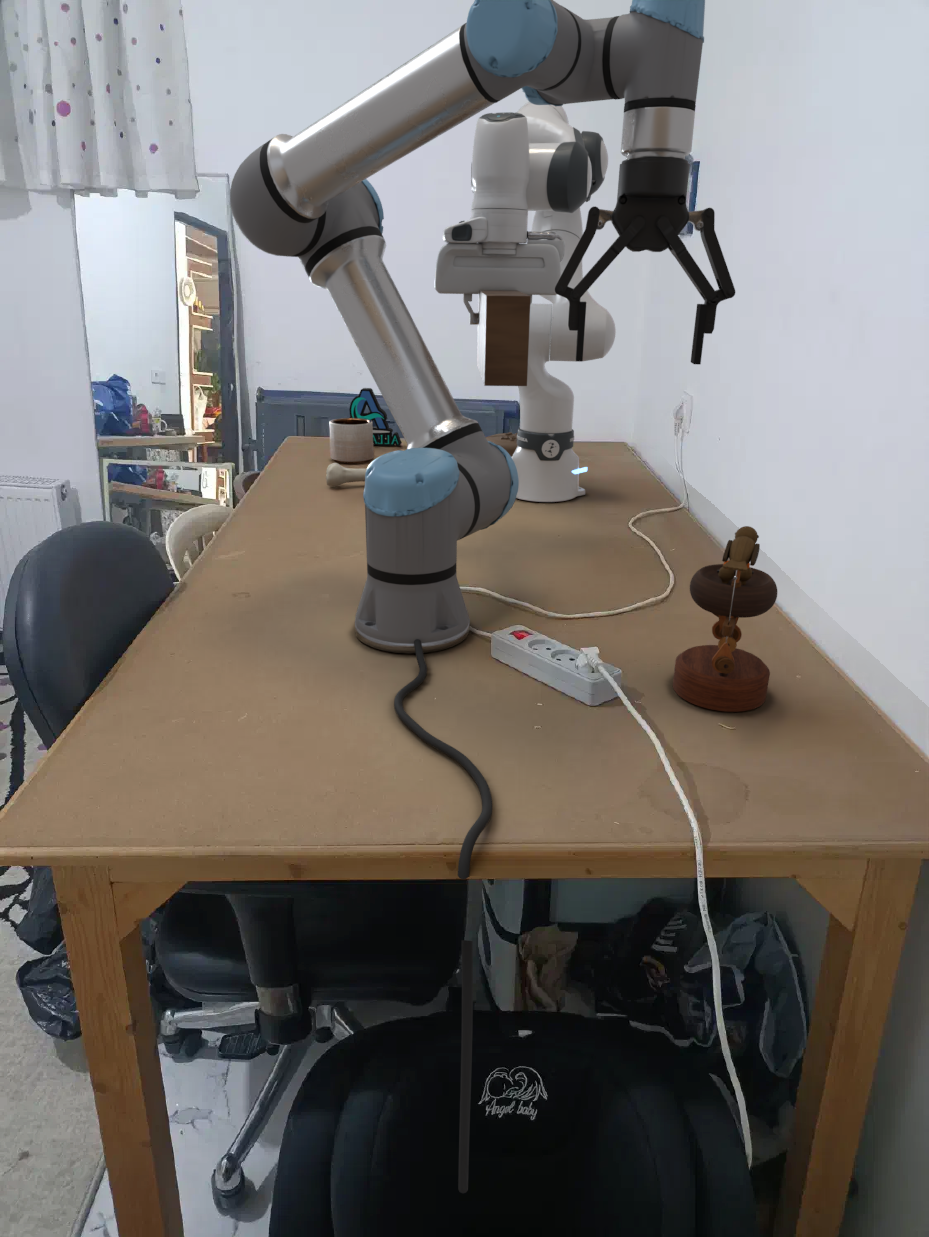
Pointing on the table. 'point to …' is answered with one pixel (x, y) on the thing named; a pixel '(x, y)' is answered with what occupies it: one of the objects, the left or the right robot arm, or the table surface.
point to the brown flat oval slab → (505, 441)
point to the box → (503, 337)
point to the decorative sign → (374, 418)
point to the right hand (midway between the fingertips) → (496, 324)
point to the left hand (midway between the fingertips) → (636, 362)
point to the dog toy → (343, 475)
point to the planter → (351, 440)
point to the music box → (728, 631)
